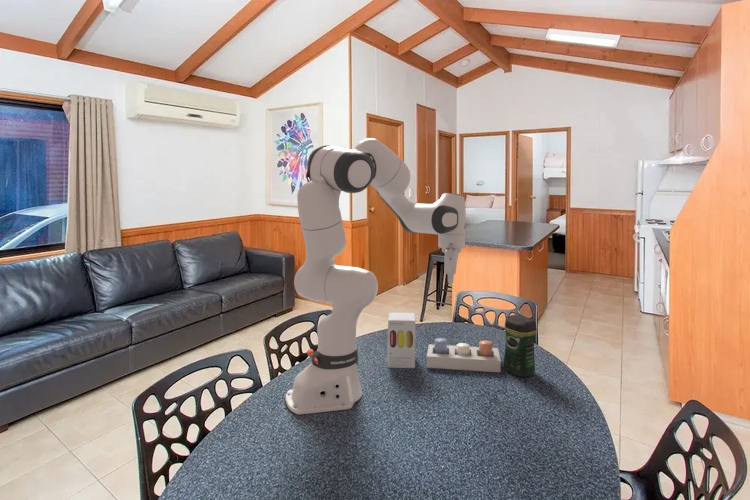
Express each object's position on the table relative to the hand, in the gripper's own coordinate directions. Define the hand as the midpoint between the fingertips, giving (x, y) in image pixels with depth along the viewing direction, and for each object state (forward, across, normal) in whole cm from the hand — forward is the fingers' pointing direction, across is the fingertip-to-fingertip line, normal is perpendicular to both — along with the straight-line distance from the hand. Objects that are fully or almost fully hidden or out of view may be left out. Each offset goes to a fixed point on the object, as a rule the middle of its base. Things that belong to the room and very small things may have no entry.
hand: (450, 282), depth 148 cm
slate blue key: (+24, -1, +3) cm, 24 cm away
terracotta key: (+24, -1, -12) cm, 27 cm away
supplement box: (+28, -4, +16) cm, 33 cm away
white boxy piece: (+28, -1, -5) cm, 28 cm away
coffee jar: (+28, -4, -23) cm, 36 cm away
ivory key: (+26, -1, -5) cm, 26 cm away
